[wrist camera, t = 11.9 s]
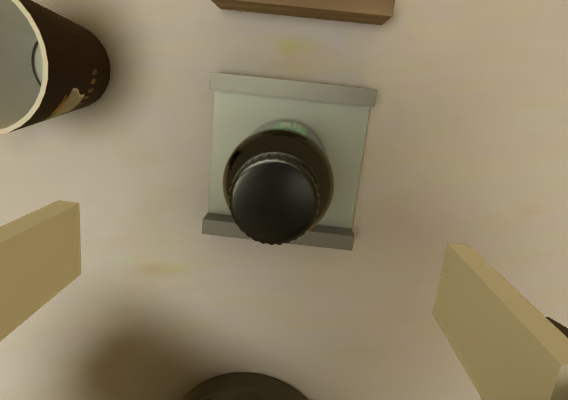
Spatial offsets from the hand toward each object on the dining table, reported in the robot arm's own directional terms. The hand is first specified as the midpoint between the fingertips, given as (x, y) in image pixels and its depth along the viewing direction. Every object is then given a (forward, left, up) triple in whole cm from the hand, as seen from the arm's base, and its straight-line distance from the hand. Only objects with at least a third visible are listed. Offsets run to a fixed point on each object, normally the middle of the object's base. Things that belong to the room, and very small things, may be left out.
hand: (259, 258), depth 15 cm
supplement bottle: (0, 0, -19) cm, 19 cm away
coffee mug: (+5, +19, -20) cm, 28 cm away
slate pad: (0, 0, -20) cm, 20 cm away
